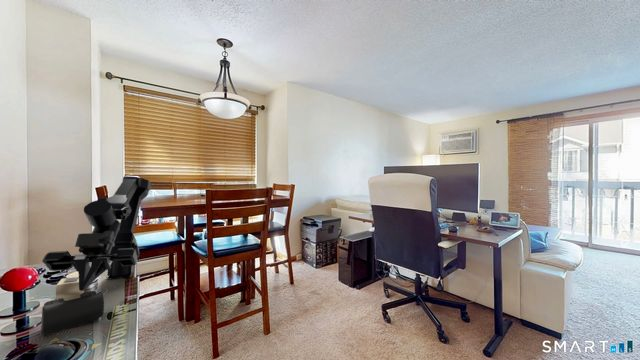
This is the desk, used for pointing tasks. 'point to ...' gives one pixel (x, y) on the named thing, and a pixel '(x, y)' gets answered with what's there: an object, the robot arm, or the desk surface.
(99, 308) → the end cap
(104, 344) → the desk surface
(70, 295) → the beech block
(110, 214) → the robot arm
